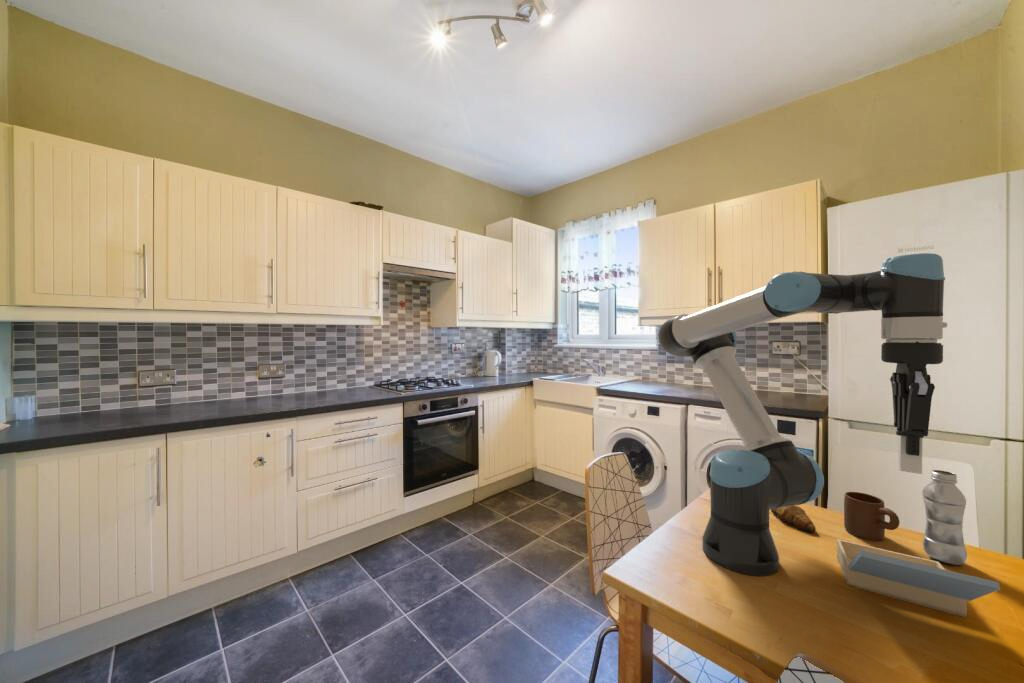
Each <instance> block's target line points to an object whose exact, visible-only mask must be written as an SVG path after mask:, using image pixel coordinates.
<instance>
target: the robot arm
mask: <svg viewBox="0 0 1024 683" xmlns="http://www.w3.org/2000/svg"><path fill="white" fill-rule="evenodd" d="M945 280H946V277H945V270H944V262H943V257H942V256H941V255H939V254H936V253H929V252H926V253H925V252H924V253H913V254H912V253H911V254H903V255H897V256H893V257H888V258H886V259H885V260H883V262H882V266H881V268H880V270H877V271H873V272H867V273H865V272H864V273H858V274H847V275H846V274H827V273H815V272H805V271H791V272H787V271H786V272H781V273H778V274H776V275H774V276H773V277H772V278H771V279H770V281H768V282H767V283H766V285H765V286H762V287H760V288H757V289H754V290H752V291H749V292H747V293H745V294H741V295H739V296H735V297H734V298H732V299H729V300H726V301H723V302H721V303H718V304H716V305H713V306H710V307H708V308H705V309H702V310H700V311H698V312H697V311H696V312H695V313H692V314H686V313H683V314H682V313H681V314H679V315H677V316H674V317H671V318H670V319H668V320H666V321H665V322H663V324H662V325H661V326H660V328H659V331H658V337H657V338H658V342H659V344H660V346H661V348H662V349H663V350H664V351H665V352H667V354H670V355H672V356H675V357H691V359H692V361H693V363H694V364H695V366H696V367H697V369H701V370H704V372H705V375H706V376H707V377H708V379H709V381H710V383H711V385H712V387H713V389H714V391H715V393H716V394H717V397H718V399H719V400H720V403H721V404H722V406H723V408H724V410H725V411H726V414H727V415H728V417H729V419H730V421H731V423H732V425H733V427H734V428H735V431H736V432H737V435H738V436H739V437H738V438H740V440H741V442H742V444H743V446H744V449H739V450H736V449H728V450H727V449H726V450H722V451H720V452H718V453H715V454H714V456H713V457H712V458H711V461H710V470H709V478H710V479H709V480H710V481H709V483H710V484H709V485H710V487H709V489H710V492H709V493H710V494H709V495H710V517H709V519H708V521H707V522H708V523H707V525H706V526H705V529H704V533H703V535H702V551H703V552H704V553H705V555H706V556H707V557H708V558H709V559H710V560H711V561H713V562H715V563H716V564H718V565H720V566H722V567H724V568H726V569H729V570H731V571H733V572H737V573H741V574H744V575H751V576H760V577H761V576H769V575H773V574H775V573H777V571H778V570H779V569H780V568H779V567H780V557H779V552H778V550H777V548H776V543H775V542H774V538H773V536H772V533H771V531H770V511H771V509H773V508H779V507H785V506H790V505H796V506H800V505H803V504H806V503H809V502H812V501H815V500H816V499H818V497H820V495H821V494H822V492H823V488H824V486H825V478H824V474H823V471H822V468H821V467H820V465H819V463H818V462H817V461H816V460H815V459H814V458H813V457H812V456H811V455H808V454H806V453H805V452H802V451H798V449H797V448H796V446H795V444H794V443H793V441H792V440H791V439H790V438H786V437H784V436H782V435H781V434H780V433H779V431H778V429H777V427H776V426H775V424H774V422H773V421H772V418H771V417H770V416H769V413H768V412H767V410H766V409H765V407H764V406H763V404H762V402H761V400H760V399H759V397H758V395H757V393H756V391H755V390H754V389H753V387H752V385H751V383H750V381H749V380H748V378H747V377H746V375H745V373H744V371H743V370H742V368H741V365H739V363H738V361H737V360H736V358H735V357H736V354H737V351H738V350H737V348H736V346H737V341H736V339H738V337H737V333H736V332H737V331H741V330H744V329H748V328H750V327H754V326H757V325H762V324H764V323H767V322H768V323H769V322H771V321H774V320H778V319H782V318H787V317H789V316H795V315H797V314H800V313H804V312H805V313H806V312H816V313H820V314H834V315H835V314H836V315H837V314H842V313H854V312H855V313H856V312H867V311H868V312H869V311H870V312H871V311H881V320H880V321H881V322H880V323H881V325H880V326H881V330H880V335H881V336H880V337H881V339H882V340H885V342H883V343H882V344H881V361H882V362H884V363H889V364H896V367H895V372H894V371H893V372H892V374H891V376H890V378H889V380H890V383H891V391H892V392H891V393H892V407H893V421H894V422H893V426H894V427H895V428H896V431H895V433H896V436H897V469H898V470H899V471H900V472H906V473H912V474H920V475H922V474H923V439H924V437H928V435H929V426H930V425H929V424H930V415H931V407H932V400H933V399H932V398H933V394H934V391H935V389H936V386H935V384H934V382H933V383H931V375H930V374H928V371H927V370H928V369H927V366H928V365H940V364H942V363H943V361H944V344H942V343H941V342H938V340H942V339H943V335H944V334H943V333H944V331H943V330H944V329H945V328H947V327H948V323H947V322H944V321H943V320H944V317H943V316H944V294H945V293H944V292H945V291H944V289H945Z"/></svg>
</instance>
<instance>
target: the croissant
mask: <svg viewBox="0 0 1024 683" xmlns="http://www.w3.org/2000/svg"><path fill="white" fill-rule="evenodd" d="M770 512H772V513H773V514H774V515H775V516H777V517H778V518H779V519H781V520H782V521H783V522H786V523H788V524H790V525H793V526H794V527H796V528H798V529H800V530H803V531H805V532H809V533H815V532H816V531H817V528H816V526H815V524H814V522H813V521H812V519H811V518H810V517H809V516H808V515H807V513H806V511H805V510H804V509H803V508H801V507H800V506H799V505H790V506H785V507H779V508H773V509H770Z"/></svg>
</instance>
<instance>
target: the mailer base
mask: <svg viewBox="0 0 1024 683" xmlns="http://www.w3.org/2000/svg"><path fill="white" fill-rule="evenodd" d="M860 550H862V551H866V552H870V553H875V554H879V555H883V556H888V557H892V558H896V559H901V560H905V561H909V562H914V563H918V564H922V565H927V566H931V567H935V568H940V569H944V570H946V569H945V568H944V566H943V565H942V564H941V563H940V561H938V560H933V559H927V558H924V557H923V558H922V557H919V556H914V555H909V554H906V553H902V552H896V551H891V550H888V549H884V548H879V547H875V546H869V545H864V544H861V543H857V542H851V541H848V540H845V539H844V540H843V539H839V538H837V539H836V558H837V560H838V563H839V566H840V568H841V571H842V573H843V576H844V579H845V581H846V583H847V586H849V587H852V588H856V589H860V590H864V591H868V592H871V593H874V594H877V595H882V596H886V597H889V598H894V599H897V600H901V601H903V602H907V603H911V604H915V605H919V606H923V607H926V608H930V609H933V610H937V611H941V612H945V613H948V614H951V615H954V616H955V615H956V616H959V617H961V618H962V617H963V618H966V619H967V618H968V617H967V616H968V615H967V612H968V607H967V606H968V604H967V603H968V600H965V599H961V598H957V597H953V596H949V595H945V594H942V593H938V592H934V591H930V590H926V589H922V588H918V587H914V586H910V585H906V584H902V583H898V582H895V581H891V580H887V579H883V578H879V577H875V576H871V575H867V574H863V573H859V572H855V571H852V570H849V564H850V562H851V561H852V560H853V559H854V557H855V556H856V555H857V554H858V552H859V551H860Z"/></svg>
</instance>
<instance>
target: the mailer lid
mask: <svg viewBox="0 0 1024 683" xmlns="http://www.w3.org/2000/svg"><path fill="white" fill-rule="evenodd" d="M944 569H945V568H944ZM944 569H940V568H935V567H931V566H927V565H922V564H918V563H914V562H909V561H905V560H901V559H896V558H892V557H888V556H883V555H879V554H875V553H870V552H866V551H862V550H860V551H859V552H858V554H857V555H856V556H855V557H854V559H853V560H852V561H851V562H850V564H849V570H852V571H855V572H859V573H863V574H867V575H871V576H875V577H879V578H883V579H887V580H891V581H895V582H898V583H902V584H906V585H910V586H914V587H918V588H922V589H926V590H930V591H934V592H938V593H942V594H945V595H949V596H953V597H957V598H961V599H965V600H967V601H970V602H971V601H973V600H977V599H980V598H981V597H984V596H986V595H990V594H993V593H994V592H996V591H1000V590H1001V587H1000V583H999V581H997V580H996V581H995V580H990V579H986V578H983V577H978V576H973V575H969V574H966V573H965V574H964V573H961V572H957V571H952V570H948V569H945V570H944Z"/></svg>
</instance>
